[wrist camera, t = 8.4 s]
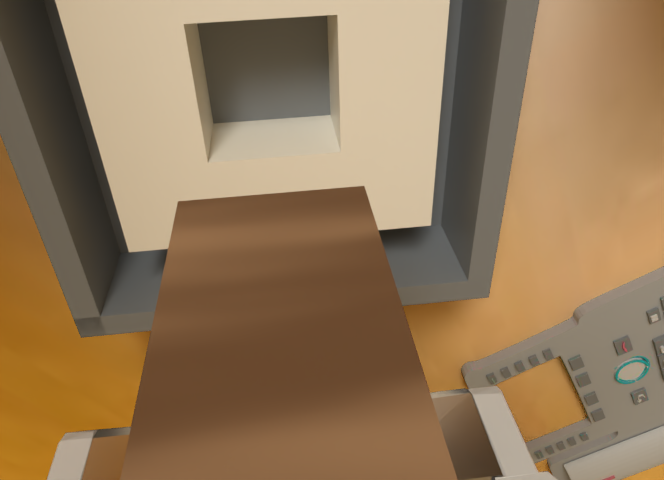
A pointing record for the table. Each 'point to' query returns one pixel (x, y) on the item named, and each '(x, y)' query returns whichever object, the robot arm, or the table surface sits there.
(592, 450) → the office telephone
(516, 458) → the robot arm
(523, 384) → the table surface
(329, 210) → the peg
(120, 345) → the table surface
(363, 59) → the open box
